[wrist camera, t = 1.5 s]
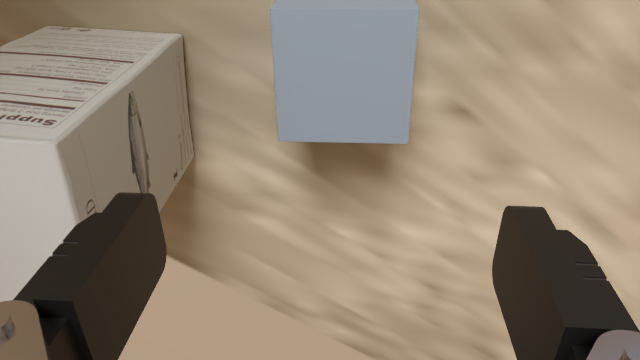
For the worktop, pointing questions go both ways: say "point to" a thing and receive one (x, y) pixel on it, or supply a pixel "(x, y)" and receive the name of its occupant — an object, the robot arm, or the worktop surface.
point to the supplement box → (84, 133)
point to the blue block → (344, 69)
